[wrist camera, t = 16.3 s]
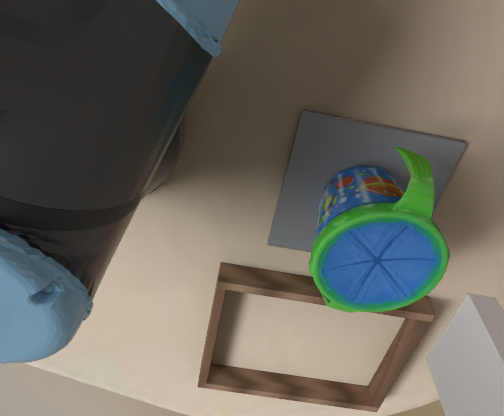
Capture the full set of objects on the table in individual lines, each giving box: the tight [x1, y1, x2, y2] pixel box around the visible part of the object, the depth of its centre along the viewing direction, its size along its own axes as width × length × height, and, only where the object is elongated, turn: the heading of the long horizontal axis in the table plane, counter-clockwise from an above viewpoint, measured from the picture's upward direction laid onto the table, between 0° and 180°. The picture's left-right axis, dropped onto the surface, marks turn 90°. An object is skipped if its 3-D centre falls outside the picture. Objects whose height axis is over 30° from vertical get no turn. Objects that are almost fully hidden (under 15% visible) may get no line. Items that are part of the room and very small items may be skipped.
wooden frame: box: [198, 263, 435, 412], centre depth 54 cm, size 24×19×3 cm
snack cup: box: [309, 147, 450, 312], centre depth 39 cm, size 16×10×10 cm
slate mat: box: [268, 110, 467, 252], centre depth 43 cm, size 15×15×1 cm
